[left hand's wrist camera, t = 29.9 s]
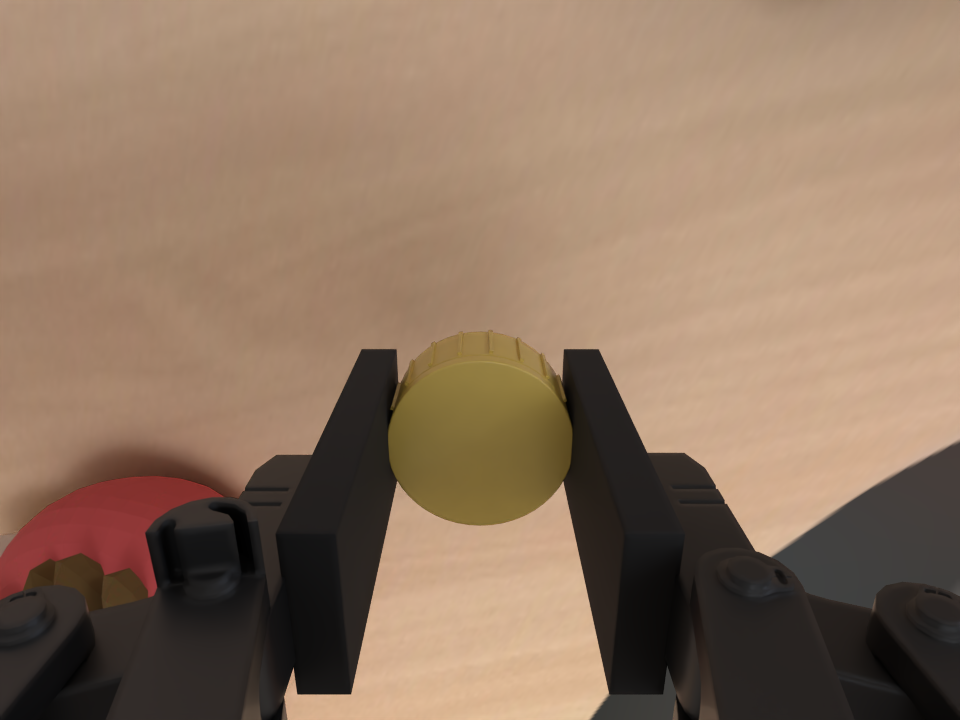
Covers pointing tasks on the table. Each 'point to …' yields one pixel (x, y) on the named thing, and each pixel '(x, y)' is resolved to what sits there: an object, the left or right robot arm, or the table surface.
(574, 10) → the table surface
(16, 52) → the table surface
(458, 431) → the cap
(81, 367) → the table surface
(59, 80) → the table surface
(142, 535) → the toy
